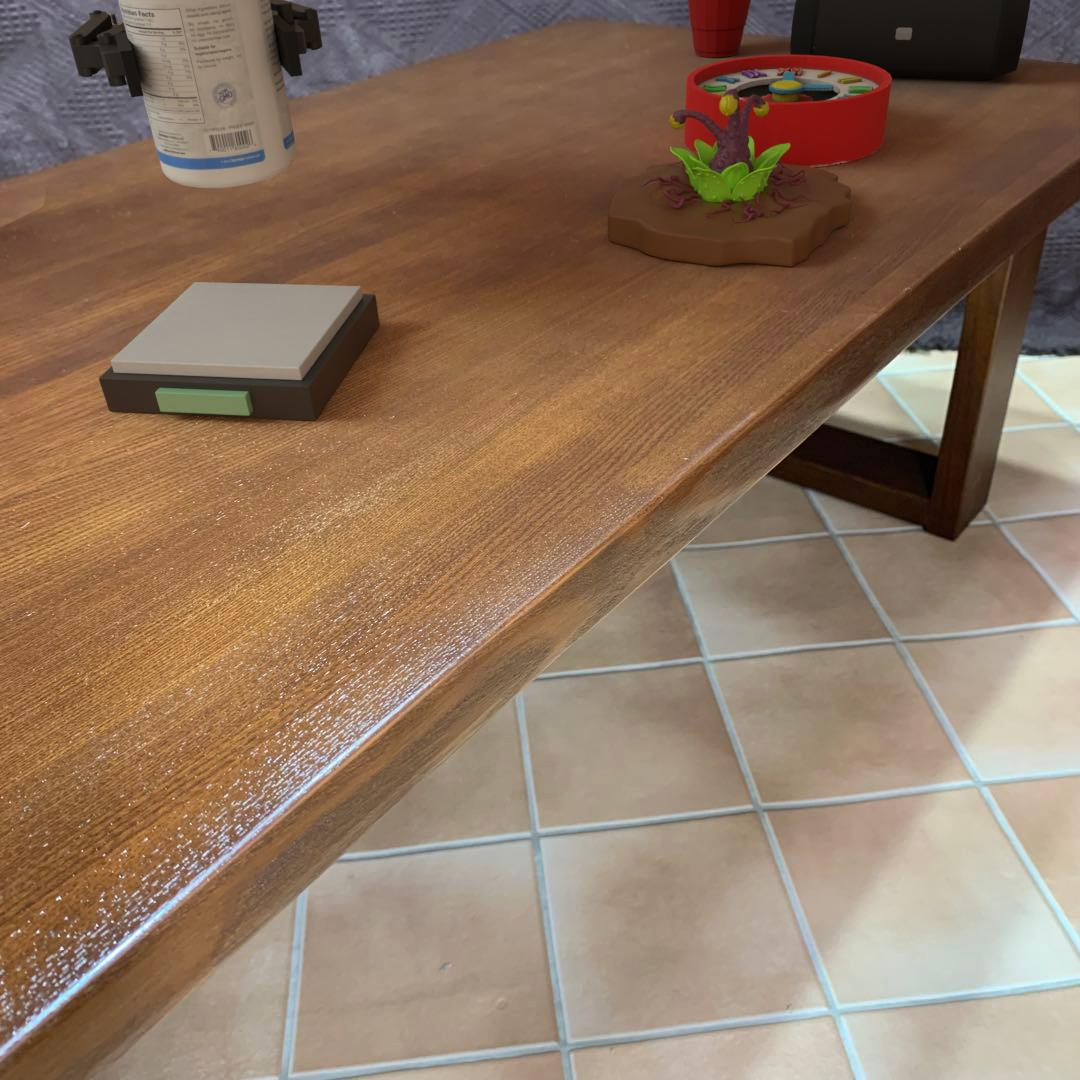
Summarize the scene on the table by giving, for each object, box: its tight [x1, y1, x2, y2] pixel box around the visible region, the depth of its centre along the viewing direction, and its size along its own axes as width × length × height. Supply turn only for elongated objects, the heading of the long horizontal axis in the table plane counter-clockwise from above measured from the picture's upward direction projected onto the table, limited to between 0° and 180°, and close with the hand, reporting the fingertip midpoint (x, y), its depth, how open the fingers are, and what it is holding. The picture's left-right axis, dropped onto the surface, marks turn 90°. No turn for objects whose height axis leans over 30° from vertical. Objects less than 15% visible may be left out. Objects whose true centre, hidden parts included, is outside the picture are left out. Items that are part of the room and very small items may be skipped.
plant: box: [607, 88, 852, 268], centre depth 88 cm, size 20×20×11 cm
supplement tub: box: [117, 0, 297, 189], centre depth 73 cm, size 10×10×15 cm
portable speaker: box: [789, 0, 1031, 81], centre depth 126 cm, size 26×10×10 cm, turn 70°
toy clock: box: [684, 54, 893, 168], centre depth 109 cm, size 20×6×20 cm
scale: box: [98, 281, 381, 421], centre depth 72 cm, size 14×15×3 cm
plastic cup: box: [687, 0, 752, 58], centre depth 139 cm, size 11×11×12 cm
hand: (214, 63), depth 69 cm, fingers closed on supplement tub, 9 cm apart
